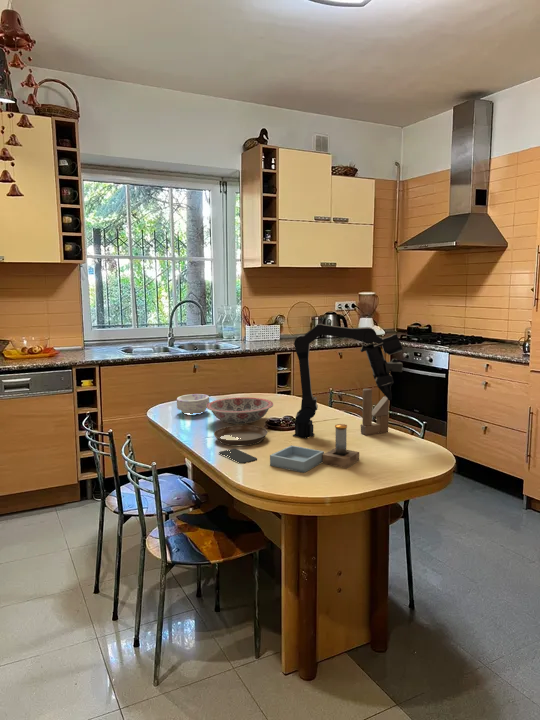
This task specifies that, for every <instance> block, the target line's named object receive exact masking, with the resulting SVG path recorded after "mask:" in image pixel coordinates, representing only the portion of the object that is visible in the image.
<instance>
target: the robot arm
mask: <svg viewBox="0 0 540 720" xmlns="http://www.w3.org/2000/svg"><path fill="white" fill-rule="evenodd" d="M322 335H325V336H332V337H337V338H338V337H339V338H346V339H352V340H355V341H358V342H361V343H364V344H362V345H361V348H360V353H363V352H365V353H366V356H367V359H368V361H369V364H370V368H371V370H372V376H373V379H374V382H375V384H376V386H377V389H379V390H380V391H381V393H382V394H383V395H384V396H385V397H387V398H388V400H389V402H390V401H392V400H393V398H392V397H393V395H392V385H393V384H394V381H395V380H394V378H393V375H392V374H391V372H395V373H397V372H399V373H403V366H404V365H403V362H401V361H398V359H397V358H392V359H391V361H387V360H386V359H385V356H384V354H387V355H388V356H391V355H393V354H394V355H395V354H396V353H400V352H402V351H404V350H403V345H402V343H401V341H400V339H399V337H398V334H396V333H394V334H392V335H390V336H386V337H383V338H382V337H381V336H379V335H378V334H377V331H376V330H374V328H372V327H368V326H366V327H344V326H337V325H328V324H323V323H317V324H315V326H314V327H313V328H311V329H310V330H309V331H306V333H305V334H300V335H297V337H296V338H295V339H294V341H293V342H294V343H293V345H294V349H295V352H296V355H297V358H298V363H299V364H298V365H299V374H300V376H299V377H300V383H301V404H300V405H301V406H300V409H299V410H298V411H297V413H296V415H295V420H294V434H292V437H295V438H301V439H309V438H310V437H311V438H312V437H313V436H315V433H314V423H313V420H311V419H313V418H314V416H316V412H317V411H318V404H317V399H318V397H317V396H314V394H313V392H312V381H311V379H312V378H311V371H310V370H311V369H310V359H309V357H310V356H309V355H310V347H311V346H310V345H311V343H312V342H314V341H315V340H316V339H317V338H318V337H320V336H322ZM374 343H375V344H374ZM365 344H366V345H365ZM367 344H368V345H367ZM381 347H382V348H381ZM383 352H384V353H383Z"/></svg>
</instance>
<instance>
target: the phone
mask: <svg viewBox="0 0 540 720" xmlns="http://www.w3.org/2000/svg"><path fill="white" fill-rule="evenodd" d="M227 450H228V451H227ZM229 450H230V451H229ZM230 452H231V453H230ZM219 453H220V454H222V455H225V456H227V455H228V456H227V457H229V456H230V457H229V458H231V459H233V460H235V461H237V462H239V463H244V464H247V463H246V462H248V463H251V461H252V462H255V460H256V461H257V460H258V458H257V457H255V456H253V455H251V454H249V453H246V452H244V451H242V450H240V449H237V448H230V449H226V450H221V451H219V452H218V454H219ZM220 454H219V455H220ZM222 455H221V456H222ZM237 462H236V463H237ZM239 463H238V464H239Z"/></svg>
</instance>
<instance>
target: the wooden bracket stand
mask: <svg viewBox="0 0 540 720" xmlns="http://www.w3.org/2000/svg"><path fill="white" fill-rule="evenodd" d="M389 403H390V401H389V400H388V398H387V397H386V396H385V395H384V396H383V397H381V399H380V400H379V401H378V403H377V404H376V405H375V406H374V407H373V389H371V388H363V389H362V424H360V434H362V435H364V436H371V435H375V434H376V435H377V434H385V433H386V432H387V433H389V415H390V413H389V411H390V409H389V406H390V405H389ZM373 417H374V418H375V417H376V418H375V419H376V420H375V421H376V422H375V423H373Z"/></svg>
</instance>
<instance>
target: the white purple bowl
mask: <svg viewBox="0 0 540 720" xmlns="http://www.w3.org/2000/svg"><path fill="white" fill-rule="evenodd" d="M208 403H210V396H209V395H208V394H203V393H194V394H193V393H191V394H183V395H181V396H177V398H176V409H177V410H179V411H181V413H182V412H183V413H190V414H193V413H201V412H204V411H205V412H206V410H207V407H206V406H207V404H208ZM205 412H204V413H205ZM183 413H182V414H183Z"/></svg>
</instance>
